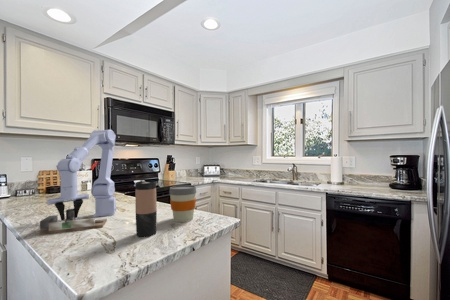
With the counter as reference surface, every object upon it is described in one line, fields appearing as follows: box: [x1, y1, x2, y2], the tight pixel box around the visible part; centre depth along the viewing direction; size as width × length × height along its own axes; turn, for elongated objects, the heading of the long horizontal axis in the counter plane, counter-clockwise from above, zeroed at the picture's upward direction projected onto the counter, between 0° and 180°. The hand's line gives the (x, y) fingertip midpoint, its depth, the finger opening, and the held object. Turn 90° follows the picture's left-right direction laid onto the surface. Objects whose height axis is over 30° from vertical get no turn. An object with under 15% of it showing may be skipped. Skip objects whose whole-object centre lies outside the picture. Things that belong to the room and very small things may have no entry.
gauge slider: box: [64, 208, 80, 225], centre depth 90 cm, size 4×8×6 cm, turn 19°
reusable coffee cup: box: [168, 184, 197, 223], centre depth 101 cm, size 13×13×15 cm
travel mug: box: [134, 180, 158, 238], centre depth 83 cm, size 8×8×20 cm
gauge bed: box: [39, 214, 108, 235], centre depth 92 cm, size 22×9×5 cm, turn 109°
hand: (69, 218), depth 91 cm, fingers open, 4 cm apart
